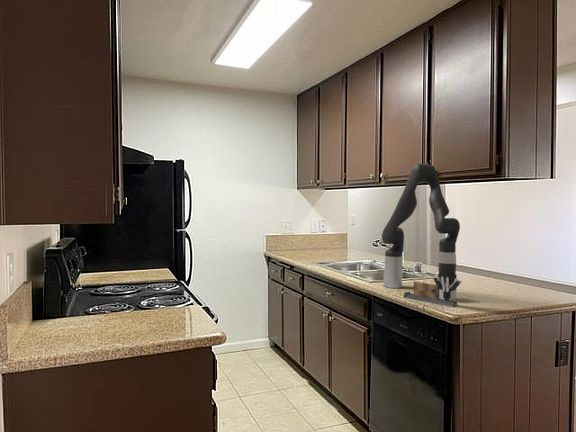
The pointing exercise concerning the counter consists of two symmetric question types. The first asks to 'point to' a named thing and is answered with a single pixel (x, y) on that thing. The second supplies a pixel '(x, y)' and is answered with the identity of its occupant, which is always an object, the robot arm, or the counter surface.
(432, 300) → the rail
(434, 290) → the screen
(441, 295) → the supplement box
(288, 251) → the counter surface
